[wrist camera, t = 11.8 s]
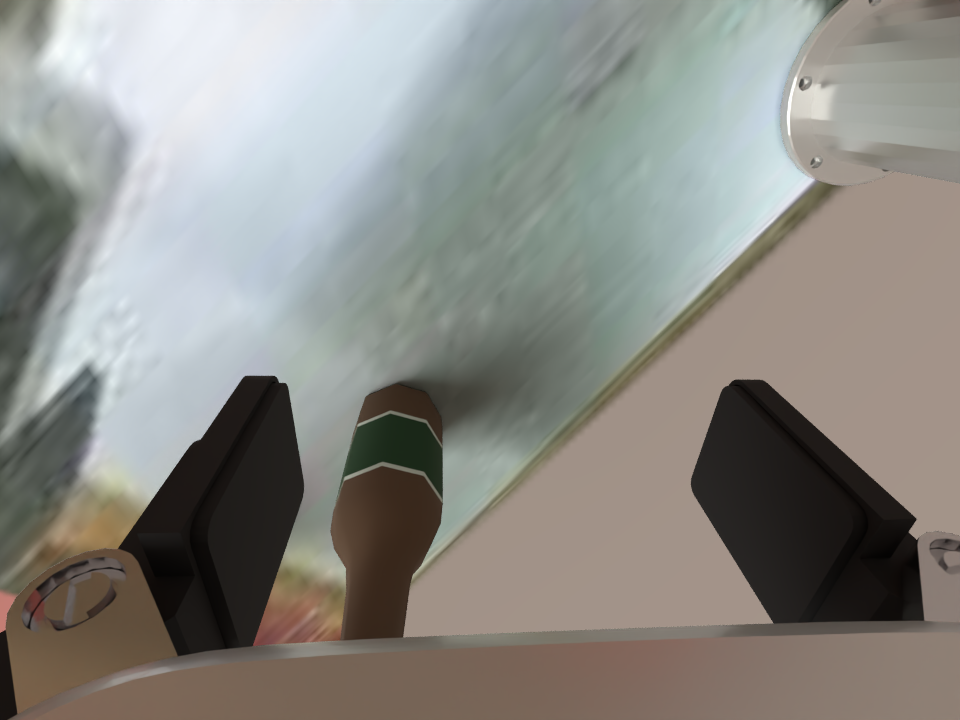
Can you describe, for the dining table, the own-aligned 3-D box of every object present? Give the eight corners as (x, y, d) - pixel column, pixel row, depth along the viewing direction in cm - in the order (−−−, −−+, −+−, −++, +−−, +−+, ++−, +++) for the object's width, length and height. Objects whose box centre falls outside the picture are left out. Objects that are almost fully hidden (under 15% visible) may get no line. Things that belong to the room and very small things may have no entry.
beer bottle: (439, 378, 43) (438, 655, 22) (444, 447, 47) (447, 740, 26) (350, 383, 42) (262, 670, 22) (362, 452, 46) (297, 753, 25)
